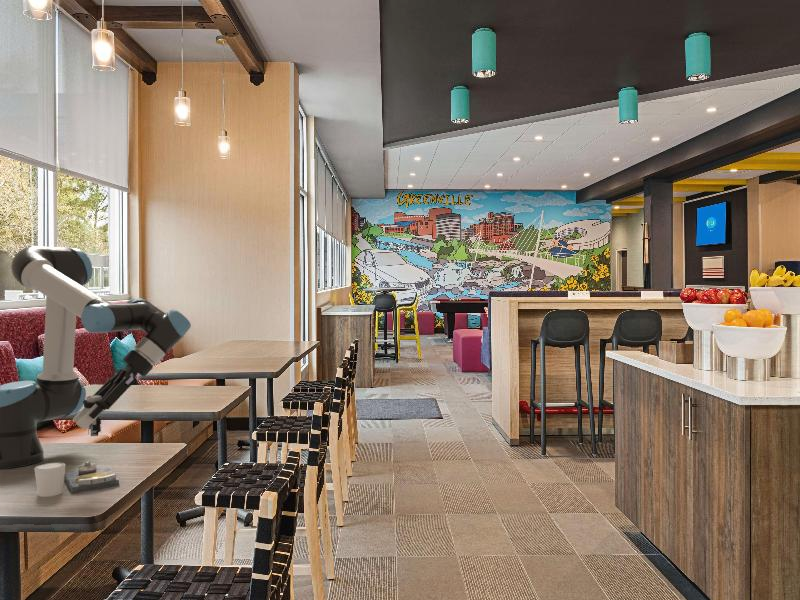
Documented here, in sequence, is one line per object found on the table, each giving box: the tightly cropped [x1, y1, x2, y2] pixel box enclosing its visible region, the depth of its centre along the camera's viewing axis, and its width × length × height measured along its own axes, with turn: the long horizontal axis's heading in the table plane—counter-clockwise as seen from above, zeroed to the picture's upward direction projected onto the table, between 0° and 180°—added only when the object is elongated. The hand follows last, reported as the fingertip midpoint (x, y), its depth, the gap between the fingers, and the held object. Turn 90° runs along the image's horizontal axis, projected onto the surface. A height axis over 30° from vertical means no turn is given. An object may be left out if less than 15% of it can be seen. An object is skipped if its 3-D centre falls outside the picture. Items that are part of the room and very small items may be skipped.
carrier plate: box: [64, 461, 120, 494], centre depth 170 cm, size 15×11×4 cm
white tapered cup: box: [33, 462, 66, 498], centre depth 161 cm, size 7×7×7 cm
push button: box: [83, 394, 102, 437], centre depth 168 cm, size 7×5×10 cm
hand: (78, 424), depth 166 cm, fingers closed on push button, 5 cm apart
